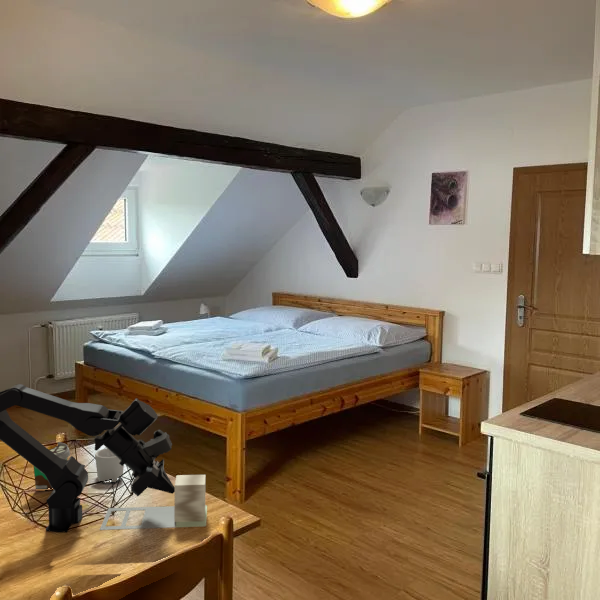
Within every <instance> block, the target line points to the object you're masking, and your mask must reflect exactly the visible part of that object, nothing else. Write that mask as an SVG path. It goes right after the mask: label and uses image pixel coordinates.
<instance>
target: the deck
mask: <svg viewBox="0 0 600 600" xmlns="http://www.w3.org/2000/svg"><path fill="white" fill-rule="evenodd" d="M174 509H175V505H171V506H170V505H169V506H139V507H138V506H136V507H109V508H107V511H106V513H105V516H104V519H103V521H102V523H101V526H100V527H99V531H107V530H108V531H110V530H114V531H115V530H138V529H140V530H141V529H142V530H145V529H165V528H166V529H169V528H192V527H193V528H195V527H197V528H198V527H207V515H208V514H207V513H208V505H207V504H205V521H193V522H174ZM121 511H122V512H123V511H124V512H125V513H124V516H123V519H122V523H121V525H110V526H109V525H108V526H107V523H108V521H109V519H110V517H111V514H112V512H121ZM131 511H144V514H143V517H142V519H141V524H139V525H138V524H137V525H127V522H128V520H129V518H130V517H129V516H130V513H131Z"/></svg>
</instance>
